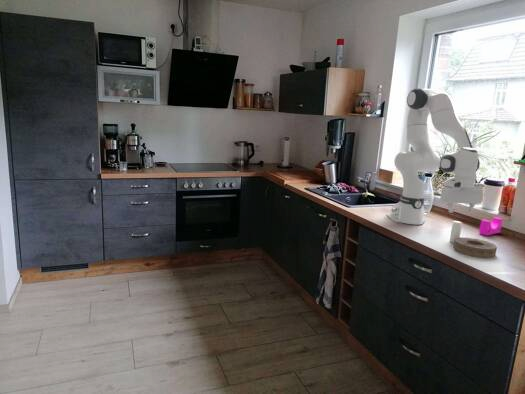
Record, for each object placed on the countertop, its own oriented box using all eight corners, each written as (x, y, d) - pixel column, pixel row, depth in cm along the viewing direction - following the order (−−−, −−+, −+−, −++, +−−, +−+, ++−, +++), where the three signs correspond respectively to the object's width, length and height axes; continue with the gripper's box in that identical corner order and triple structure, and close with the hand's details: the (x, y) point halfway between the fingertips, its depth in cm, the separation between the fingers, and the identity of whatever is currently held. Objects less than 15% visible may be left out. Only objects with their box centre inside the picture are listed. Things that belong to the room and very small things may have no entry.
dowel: (447, 241, 188) (450, 220, 186) (455, 241, 189) (458, 221, 187) (453, 243, 184) (456, 223, 182) (460, 243, 185) (464, 223, 183)
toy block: (488, 229, 217) (490, 216, 215) (500, 232, 212) (502, 218, 210) (474, 232, 208) (476, 218, 207) (486, 235, 203) (489, 221, 202)
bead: (446, 245, 180) (447, 237, 180) (476, 245, 184) (477, 237, 183) (470, 258, 165) (472, 249, 164) (503, 257, 168) (505, 248, 167)
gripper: (478, 182, 186) (474, 211, 189) (440, 181, 182) (436, 210, 184) (488, 184, 180) (484, 214, 183) (449, 183, 176) (445, 213, 178)
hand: (459, 212), depth 183 cm, fingers open, 8 cm apart
